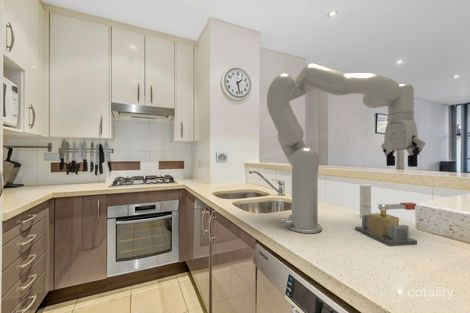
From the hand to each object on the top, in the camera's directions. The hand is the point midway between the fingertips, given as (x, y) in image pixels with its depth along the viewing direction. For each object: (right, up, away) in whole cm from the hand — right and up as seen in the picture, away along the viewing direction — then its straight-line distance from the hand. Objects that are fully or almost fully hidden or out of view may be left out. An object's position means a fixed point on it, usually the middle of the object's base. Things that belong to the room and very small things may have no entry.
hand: (401, 166), depth 79 cm
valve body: (-10, -24, -5) cm, 27 cm away
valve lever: (-4, -15, -4) cm, 16 cm away
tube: (-2, -25, +18) cm, 31 cm away
